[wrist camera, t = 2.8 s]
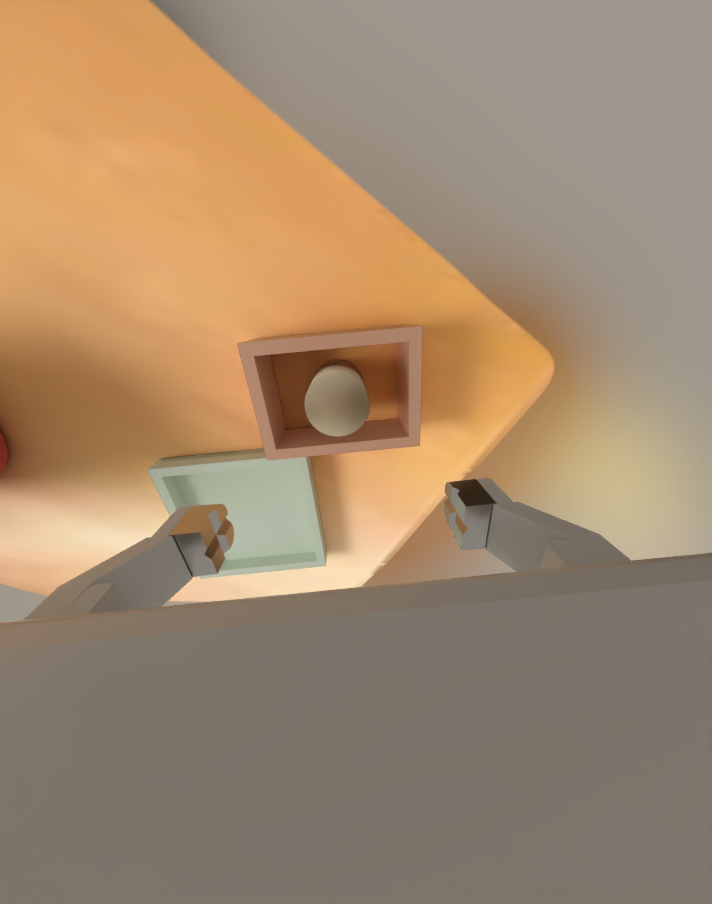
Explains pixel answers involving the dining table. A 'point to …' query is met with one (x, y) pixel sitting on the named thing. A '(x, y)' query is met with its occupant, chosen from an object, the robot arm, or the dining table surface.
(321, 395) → the beech cylinder
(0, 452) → the citrus juicer
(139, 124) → the dining table surface
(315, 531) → the tray
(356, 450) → the open square frame
